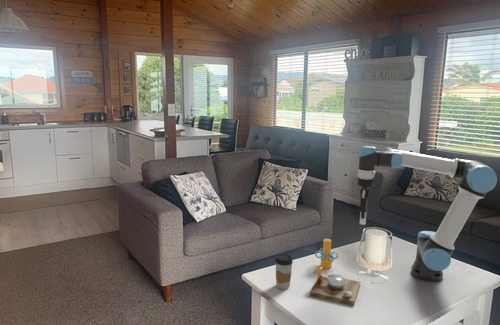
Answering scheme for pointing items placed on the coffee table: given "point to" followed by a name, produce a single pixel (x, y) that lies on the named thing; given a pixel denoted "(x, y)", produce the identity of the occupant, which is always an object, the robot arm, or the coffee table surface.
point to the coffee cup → (283, 271)
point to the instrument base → (336, 291)
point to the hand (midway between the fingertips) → (362, 223)
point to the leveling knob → (331, 280)
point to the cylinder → (326, 254)
